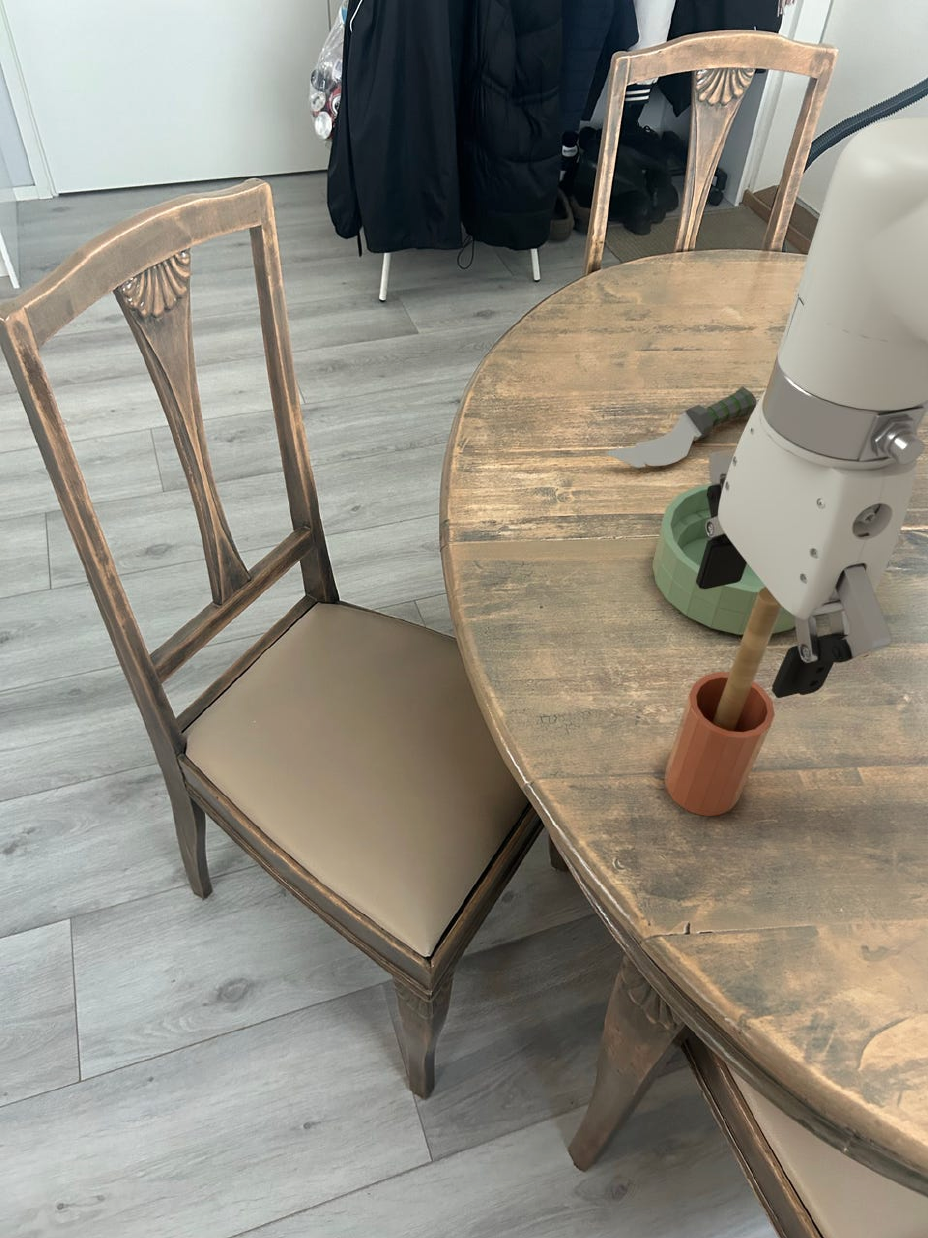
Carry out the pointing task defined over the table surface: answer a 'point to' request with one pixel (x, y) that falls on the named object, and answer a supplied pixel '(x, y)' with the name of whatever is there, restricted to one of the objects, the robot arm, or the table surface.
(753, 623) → the wooden masher
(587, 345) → the table surface
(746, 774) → the utensil cup
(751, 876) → the table surface
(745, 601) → the bowl
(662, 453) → the knife
